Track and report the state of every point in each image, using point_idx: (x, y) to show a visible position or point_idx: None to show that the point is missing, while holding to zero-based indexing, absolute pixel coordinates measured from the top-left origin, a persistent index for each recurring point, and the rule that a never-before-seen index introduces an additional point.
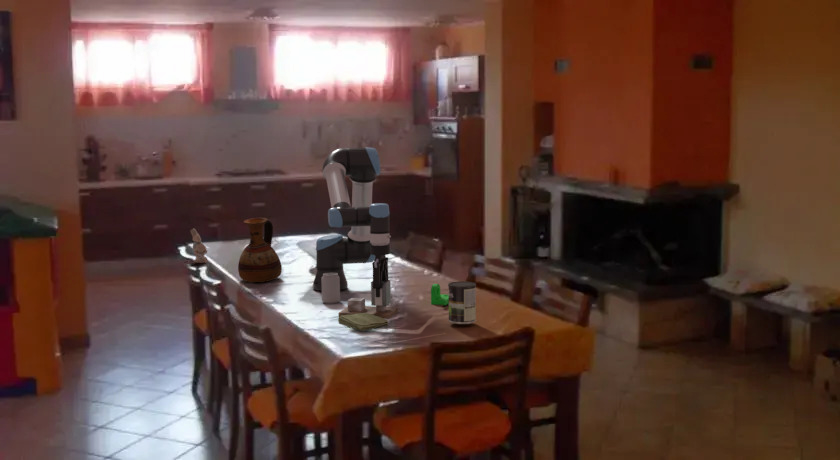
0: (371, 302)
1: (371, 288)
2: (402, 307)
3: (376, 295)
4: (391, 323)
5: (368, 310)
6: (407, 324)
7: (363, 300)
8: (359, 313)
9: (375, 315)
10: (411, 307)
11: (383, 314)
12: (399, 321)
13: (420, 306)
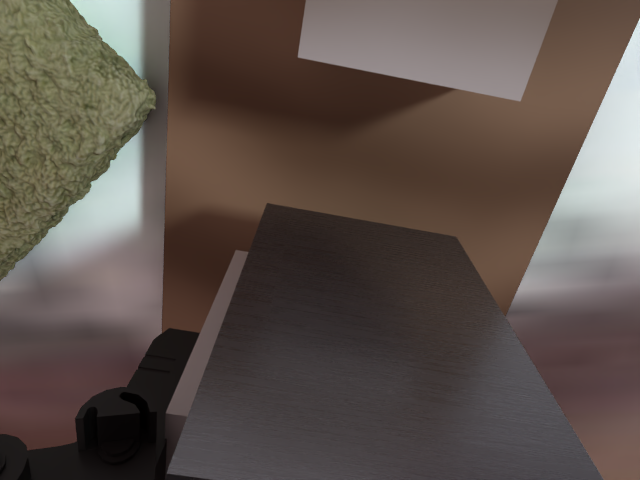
0: (262, 218)
1: (215, 349)
2: (605, 380)
3: (149, 355)
4: (17, 340)
5: (348, 136)
6: (21, 428)
7: (433, 83)
8: (66, 61)
9: (170, 221)
10: (585, 432)
11: (166, 295)
12: (97, 383)
13: (604, 477)
